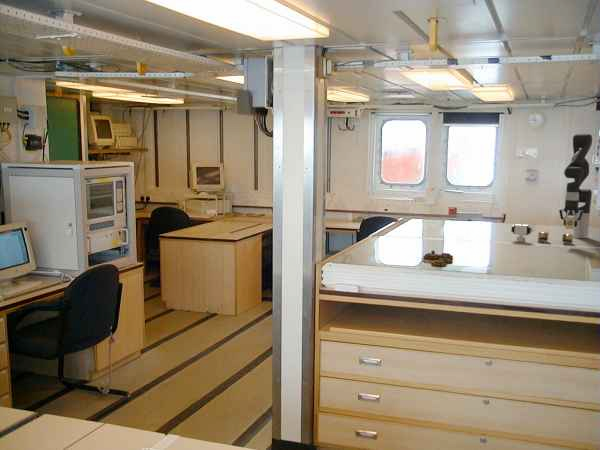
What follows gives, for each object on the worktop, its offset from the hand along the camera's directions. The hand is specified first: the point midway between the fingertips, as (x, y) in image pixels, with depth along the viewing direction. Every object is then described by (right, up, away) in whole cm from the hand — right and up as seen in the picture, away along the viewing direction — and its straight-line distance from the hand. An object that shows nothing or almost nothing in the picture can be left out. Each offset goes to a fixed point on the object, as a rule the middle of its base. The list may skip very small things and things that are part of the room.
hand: (570, 226), depth 380 cm
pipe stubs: (-4, -11, +14) cm, 18 cm away
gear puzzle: (-95, -19, -54) cm, 111 cm away
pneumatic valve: (-24, -10, +18) cm, 32 cm away
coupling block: (0, -1, 0) cm, 1 cm away
